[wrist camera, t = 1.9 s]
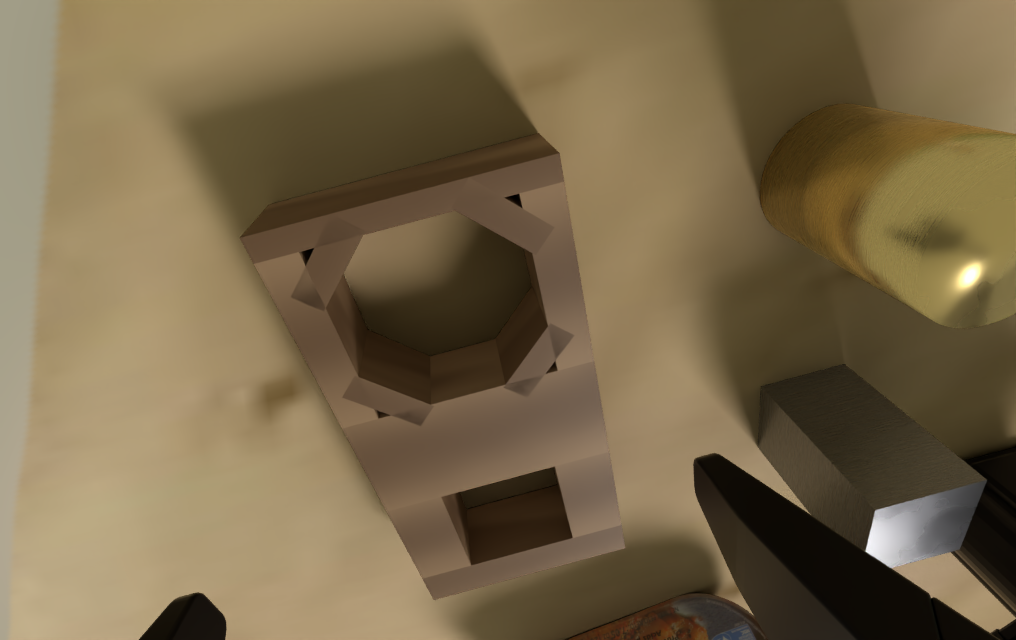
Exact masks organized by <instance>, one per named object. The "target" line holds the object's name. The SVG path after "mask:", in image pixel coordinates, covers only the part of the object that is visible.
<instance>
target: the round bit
mask: <svg viewBox="0 0 1016 640" xmlns="http://www.w3.org/2000/svg"><path fill="white" fill-rule="evenodd" d="M760 201H761V207H762V210H763V213H764V215H765V217H766V219H767V220H768V221H769V223H770V224H771V225H772V226H773V227H774V228H775V229H777V230H778V231H780V232H782V233H784V234H785V235H787V236H789V237H790V238H792V239H794V240H796V241H797V242H799V243H801V244H802V245H804V246H806V247H808V248H809V249H811V250H813V251H814V252H816V253H818V254H820V255H821V256H823V257H825V258H826V259H828V260H830V261H832V262H833V263H835V264H837V265H838V266H840V267H842V268H844V269H845V270H847V271H849V272H850V273H852V274H854V275H856V276H857V277H859V278H861V279H862V280H864V281H866V282H868V283H869V284H871V285H873V286H874V287H876V288H878V289H880V290H881V291H883V292H885V293H886V294H888V295H890V296H892V297H893V298H895V299H897V300H898V301H900V302H902V303H904V304H905V305H907V306H909V307H910V308H912V309H914V310H916V311H917V312H919V313H921V314H922V315H924V316H926V317H928V318H929V319H931V320H933V321H934V322H936V323H938V324H940V325H943V326H946V327H950V328H962V329H966V328H975V327H980V326H985V325H988V324H991V323H995V322H998V321H1000V320H1002V319H1005V318H1007V317H1010V316H1012V315H1013V314H1015V313H1016V134H1012V133H1007V132H1002V131H996V130H991V129H985V128H980V127H975V126H969V125H964V124H958V123H953V122H948V121H942V120H937V119H931V118H926V117H921V116H915V115H910V114H904V113H899V112H894V111H888V110H883V109H877V108H872V107H867V106H861V105H856V104H836V105H831V106H828V107H825V108H822V109H820V110H817V111H815V112H813V113H811V114H810V115H808V116H807V117H805V118H803V119H802V120H801V121H799V122H798V123H797V124H796V125H795V126H793V127H792V128H791V129H790V130H789V131H788V132H787V133H786V134H785V136H784V137H783V138H782V139H781V140H780V142H779V143H778V144H777V146H776V147H775V149H774V150H773V152H772V154H771V155H770V157H769V159H768V162H767V164H766V166H765V169H764V172H763V175H762V180H761V186H760Z"/></svg>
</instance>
